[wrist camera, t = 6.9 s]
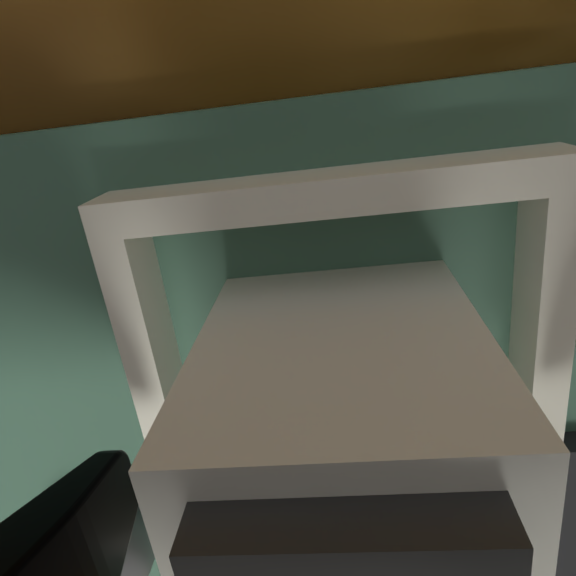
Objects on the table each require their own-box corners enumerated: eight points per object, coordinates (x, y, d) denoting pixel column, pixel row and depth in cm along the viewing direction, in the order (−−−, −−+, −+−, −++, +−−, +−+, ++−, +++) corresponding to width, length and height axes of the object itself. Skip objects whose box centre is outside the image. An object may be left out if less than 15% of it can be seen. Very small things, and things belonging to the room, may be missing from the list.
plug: (443, 437, 10) (560, 791, 5) (257, 446, 11) (193, 781, 6) (442, 260, 9) (607, 509, 4) (226, 279, 9) (101, 523, 4)
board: (717, 557, 12) (812, 671, 10) (51, 568, 14) (-4, 665, 12) (878, 23, 8) (1121, -3, 5) (-128, 150, 10) (-274, 172, 7)
